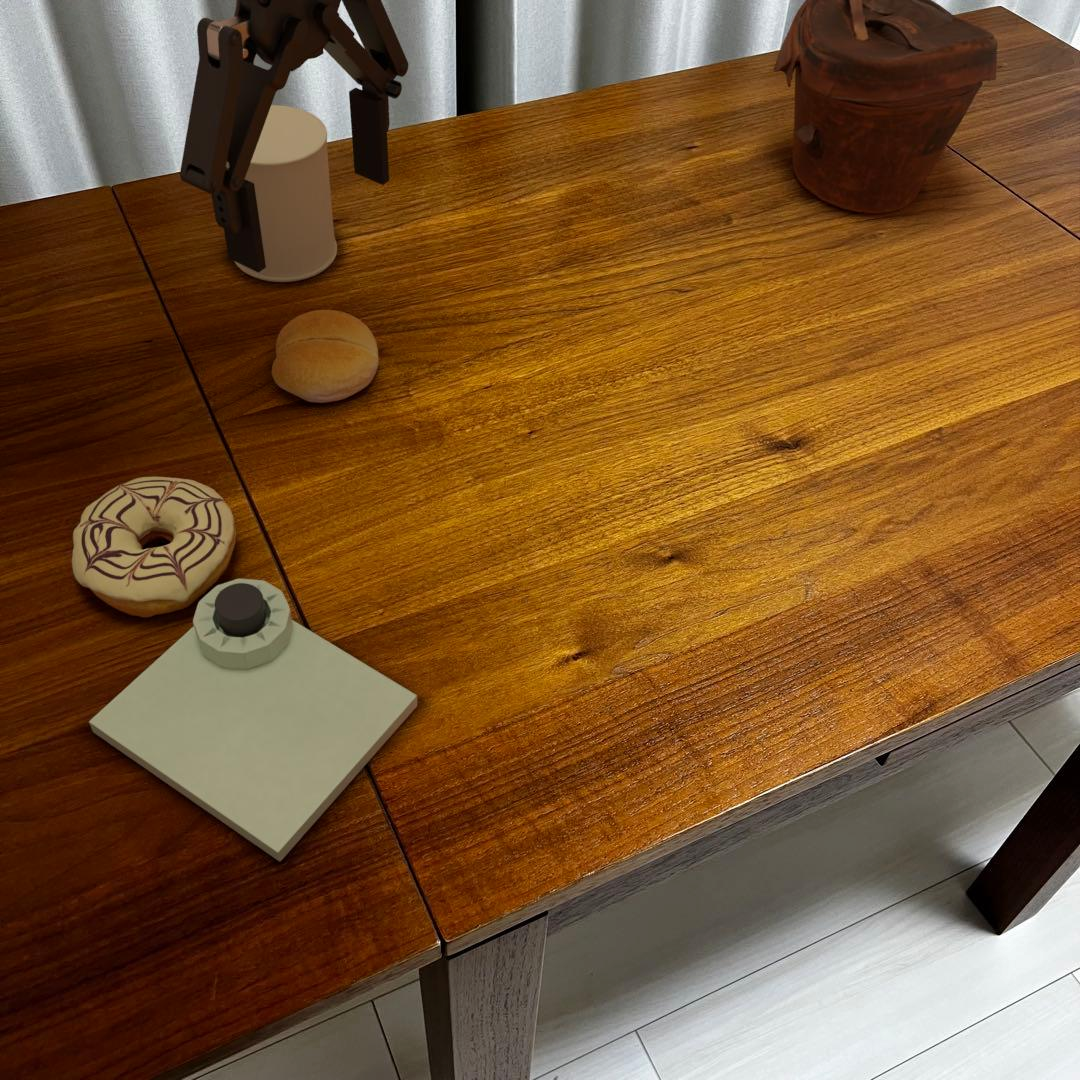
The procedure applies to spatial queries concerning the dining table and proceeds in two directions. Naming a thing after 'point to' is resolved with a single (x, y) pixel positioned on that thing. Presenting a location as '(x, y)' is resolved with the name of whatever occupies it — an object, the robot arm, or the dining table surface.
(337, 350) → the bread roll
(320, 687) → the scale
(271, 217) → the can
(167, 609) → the decorated donut
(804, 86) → the case
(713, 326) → the dining table surface
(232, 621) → the button
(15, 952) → the dining table surface
